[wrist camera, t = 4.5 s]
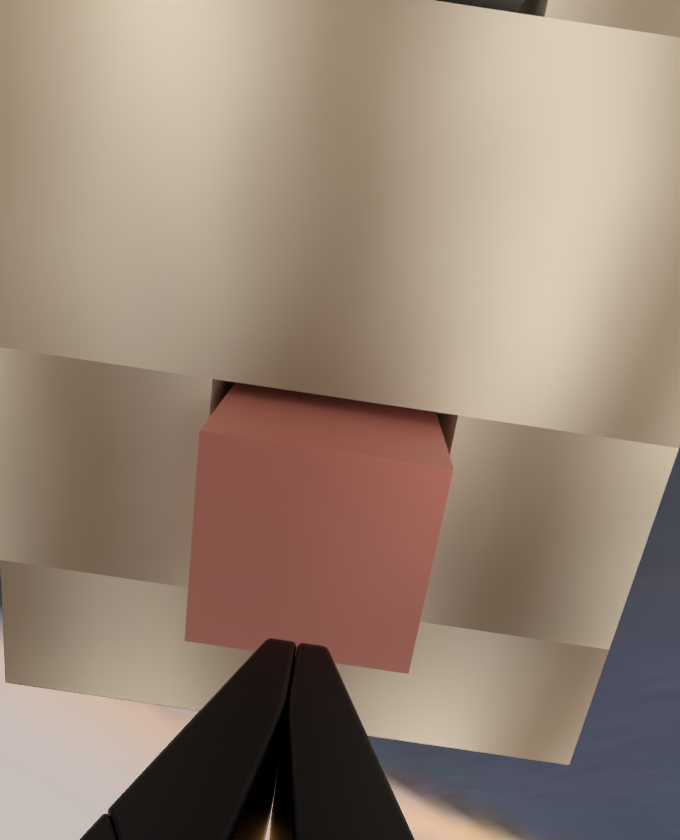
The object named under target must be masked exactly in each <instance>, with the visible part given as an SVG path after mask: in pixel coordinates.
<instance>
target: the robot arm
mask: <svg viewBox="0 0 680 840" xmlns="http://www.w3.org/2000/svg"><path fill="white" fill-rule="evenodd" d="M295 655H296V656H295ZM277 772H278V773H277ZM276 779H277V780H276ZM275 785H276V787H275ZM274 791H275V793H274ZM273 798H274V800H273ZM272 803H273V809H272ZM271 809H272V816H271V828H270V840H414V838H413V835H412V833H411V831H410V829H409V827H408V824H407V822H406V820H405V818H404V815H403V813H402V811H401V809H400V807H399V804H398V802H397V800H396V798H395V796H394V793H393V791H392V789H391V787H390V784H389V782H388V780H387V778H386V776H385V773H384V771H383V769H382V767H381V764H380V762H379V760H378V758H377V756H376V753H375V751H374V749H373V747H372V745H371V742H370V740H369V738H368V736H367V733H366V731H365V729H364V727H363V725H362V722H361V720H360V718H359V716H358V713H357V711H356V709H355V707H354V705H353V702H352V700H351V698H350V696H349V694H348V691H347V689H346V687H345V685H344V682H343V680H342V678H341V676H340V674H339V671H338V669H337V667H336V665H335V663H334V660H333V658H332V656H331V654H330V652H329V650H328V648H327V647H325V646H321V645H315V644H308V643H300V644H299V645H298V646H297V650H296V643H294V642H293V641H288V640H281V639H274V638H269V639H267V640H265V641H264V642H263V643H262V644H261V646H260V647H259V648H258V649H257V650H256V651H255V652H254V653H253V654H252V655H251V656H250V657H249V658H248V660H247V661H246V662H245V663H244V664H243V665H242V666H241V667H240V668H239V669H238V670H237V671H236V672H235V674H234V675H233V676H232V677H231V678H230V679H229V680H228V681H227V682H226V683H225V684H224V685H223V686H222V687H221V689H220V690H219V691H218V692H217V693H216V694H215V695H214V696H213V697H212V698H211V699H210V700H209V701H208V703H207V704H206V705H205V706H204V707H203V708H202V709H201V710H200V711H199V712H198V713H197V714H196V715H195V717H194V718H193V719H192V720H191V721H190V722H189V723H188V724H187V725H186V726H185V727H184V728H183V729H182V731H181V732H180V733H179V734H178V735H177V736H176V737H175V738H174V739H173V740H172V741H171V742H170V743H169V744H168V746H167V747H166V748H165V749H164V750H163V751H162V752H161V753H160V754H159V755H158V756H157V757H156V758H155V760H154V761H153V762H152V763H151V764H150V765H149V766H148V767H147V768H146V769H145V770H144V771H143V772H142V774H141V775H140V776H139V777H138V778H137V779H136V780H135V781H134V782H133V783H132V784H131V785H130V786H129V788H128V789H127V790H126V791H125V792H124V793H123V794H122V795H121V796H120V797H119V798H118V799H117V800H116V802H115V803H114V804H113V805H112V806H111V807H110V808H109V810H108V814H104V815H102V816H101V817H100V818H99V819H98V820H97V822H96V823H95V824H94V825H93V826H92V827H91V828H90V829H89V830H88V831H87V832H86V833H85V834H84V836H83V837H82V838H81V839H80V840H264V839H265V835H266V831H267V827H268V823H269V819H270V814H271Z"/></svg>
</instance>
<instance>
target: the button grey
mask: <svg viewBox="0 0 680 840" xmlns="http://www.w3.org/2000/svg"><path fill="white" fill-rule="evenodd" d="M435 1H442V2H449V3H455V4H462V5H468V6H475V7H482V8H488V9H495V10H502V11H508V12H515V13H516V12H517V10H518V9H519V8H520V6H521V5H522V4H523V3H524V1H525V0H435Z"/></svg>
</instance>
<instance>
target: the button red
mask: <svg viewBox="0 0 680 840" xmlns="http://www.w3.org/2000/svg"><path fill="white" fill-rule="evenodd" d="M453 469H454V468H453V465H452V462H451V458H450V455H449V452H448V449H447V446H446V442H445V439H444V436H443V433H442V430H441V426H440V423H439V420H438V417H437V414H436V412H432V411H426V410H419V409H412V408H405V407H399V406H392V405H385V404H378V403H372V402H365V401H358V400H352V399H345V398H338V397H331V396H325V395H318V394H311V393H304V392H298V391H291V390H284V389H278V388H271V387H264V386H257V385H251V384H244V383H237V382H235V384H234V385H233V386H232V388H231V389H230V390H229V392H228V393H227V394H226V396H225V397H224V398H223V400H222V401H221V402H220V404H219V405H218V406H217V408H216V409H215V411H214V412H213V413H212V415H211V416H210V417H209V419H208V420H207V421H206V423H205V424H204V425H203V427H202V428H201V429H200V431H199V444H198V458H197V472H196V486H195V500H194V514H193V528H192V542H191V556H190V570H189V584H188V598H187V612H186V627H185V641H188V642H195V643H202V644H209V645H215V646H222V647H229V648H236V649H243V650H249V651H256V650H257V649H258V648H259V647H260V646H261V644H262V643H263V642H264V641H265V640H267V639H269V638H274V639H281V640H288V641H293V642H294V643H296V650H297V646H298V645H299V644H300V643H308V644H315V645H321V646H325V647H327V648H328V650H329V652H330V654H331V656H332V658H333V660H334V663H338V664H345V665H351V666H358V667H365V668H372V669H379V670H385V671H392V672H399V673H406V674H409V669H410V665H411V660H412V656H413V651H414V647H415V642H416V637H417V633H418V628H419V624H420V619H421V615H422V610H423V606H424V601H425V597H426V592H427V588H428V583H429V578H430V574H431V569H432V565H433V560H434V556H435V551H436V547H437V542H438V538H439V533H440V528H441V524H442V519H443V515H444V510H445V506H446V501H447V497H448V492H449V488H450V483H451V479H452V474H453ZM295 656H296V655H295Z"/></svg>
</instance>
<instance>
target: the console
mask: <svg viewBox="0 0 680 840" xmlns="http://www.w3.org/2000/svg"><path fill="white" fill-rule="evenodd" d="M235 382H237V383H244V384H251V385H257V386H264V387H271V388H278V389H284V390H291V391H298V392H304V393H311V394H318V395H325V396H331V397H338V398H345V399H352V400H358V401H365V402H372V403H378V404H385V405H392V406H399V407H405V408H412V409H419V410H426V411H432V412H436V414H437V417H438V420H439V423H440V426H441V430H442V433H443V436H444V439H445V442H446V446H447V449H448V452H449V455H450V458H451V462H452V465H453V468H454V469H453V474H452V479H451V483H450V488H449V492H448V497H447V501H446V506H445V510H444V515H443V519H442V524H441V528H440V533H439V538H438V542H437V547H436V551H435V556H434V560H433V565H432V569H431V574H430V578H429V583H428V588H427V592H426V597H425V601H424V606H423V610H422V615H421V619H420V624H419V628H418V633H417V637H416V642H415V647H414V651H413V656H412V660H411V665H410V669H409V674H406V673H399V672H392V671H385V670H379V669H372V668H365V667H358V666H351V665H345V664H338V663H335V665H336V667H337V669H338V671H339V674H340V676H341V678H342V680H343V682H344V685H345V687H346V689H347V691H348V694H349V696H350V698H351V700H352V702H353V705H354V707H355V709H356V711H357V713H358V716H359V718H360V720H361V722H362V725H363V727H364V729H365V731H366V733H367V736H374V737H381V738H388V739H394V740H401V741H408V742H415V743H422V744H428V745H435V746H442V747H449V748H456V749H463V750H469V751H476V752H483V753H490V754H497V755H503V756H510V757H517V758H524V759H531V760H538V761H544V762H551V763H558V764H565V765H569V764H570V761H571V758H572V755H573V752H574V750H575V747H576V744H577V741H578V738H579V735H580V732H581V729H582V727H583V724H584V721H585V718H586V715H587V712H588V709H589V706H590V703H591V701H592V698H593V695H594V692H595V689H596V686H597V683H598V680H599V678H600V675H601V672H602V669H603V666H604V663H605V660H606V657H607V654H608V652H609V649H610V646H611V643H612V640H613V637H614V634H615V631H616V628H617V626H618V623H619V620H620V617H621V614H622V611H623V608H624V605H625V603H626V600H627V597H628V594H629V591H630V588H631V585H632V582H633V579H634V577H635V574H636V571H637V568H638V565H639V562H640V559H641V556H642V554H643V551H644V548H645V545H646V542H647V539H648V536H649V533H650V530H651V528H652V525H653V522H654V519H655V516H656V513H657V510H658V507H659V504H660V502H661V499H662V496H663V493H664V490H665V487H666V484H667V481H668V479H669V476H670V473H671V470H672V467H673V464H674V461H675V458H676V455H677V453H678V450H679V447H680V0H525V1H524V3H523V4H522V5H521V6H520V8H519V9H518V10H517V12H516V13H515V12H508V11H502V10H495V9H488V8H482V7H475V6H468V5H462V4H455V3H449V2H442V1H435V0H0V569H1V591H2V613H3V635H4V656H5V678H6V683H13V684H19V685H27V686H33V687H40V688H47V689H53V690H61V691H68V692H74V693H81V694H87V695H94V696H101V697H108V698H115V699H122V700H128V701H135V702H142V703H149V704H156V705H162V706H169V707H176V708H183V709H190V710H197V711H200V710H201V709H202V708H203V707H204V706H205V705H206V704H207V703H208V701H209V700H210V699H211V698H212V697H213V696H214V695H215V694H216V693H217V692H218V691H219V690H220V689H221V687H222V686H223V685H224V684H225V683H226V682H227V681H228V680H229V679H230V678H231V677H232V676H233V675H234V674H235V672H236V671H237V670H238V669H239V668H240V667H241V666H242V665H243V664H244V663H245V662H246V661H247V660H248V658H249V657H250V656H251V655H252V654H253V653H254V652H255V651H249V650H243V649H236V648H229V647H222V646H215V645H209V644H202V643H195V642H188V641H185V627H186V612H187V598H188V584H189V570H190V556H191V542H192V528H193V514H194V500H195V486H196V472H197V458H198V444H199V431H200V429H201V428H202V427H203V425H204V424H205V423H206V421H207V420H208V419H209V417H210V416H211V415H212V413H213V412H214V411H215V409H216V408H217V406H218V405H219V404H220V402H221V401H222V400H223V398H224V397H225V396H226V394H227V393H228V392H229V390H230V389H231V388H232V386H233V385H234V384H235Z"/></svg>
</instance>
